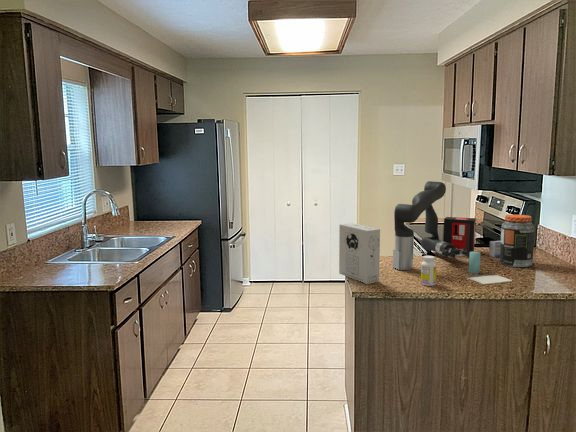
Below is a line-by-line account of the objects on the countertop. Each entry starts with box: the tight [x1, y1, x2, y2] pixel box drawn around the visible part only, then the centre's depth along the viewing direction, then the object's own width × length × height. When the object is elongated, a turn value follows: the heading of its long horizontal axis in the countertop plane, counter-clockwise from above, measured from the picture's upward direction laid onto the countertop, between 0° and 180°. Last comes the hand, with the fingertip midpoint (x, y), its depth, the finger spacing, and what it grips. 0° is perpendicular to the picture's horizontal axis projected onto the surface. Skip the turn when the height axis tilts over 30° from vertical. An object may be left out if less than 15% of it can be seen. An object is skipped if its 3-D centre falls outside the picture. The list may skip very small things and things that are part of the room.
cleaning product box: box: [442, 216, 477, 254], centre depth 277 cm, size 16×9×20 cm, turn 64°
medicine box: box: [488, 240, 501, 258], centre depth 267 cm, size 8×4×9 cm, turn 105°
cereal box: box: [338, 222, 381, 285], centre depth 225 cm, size 22×8×25 cm, turn 30°
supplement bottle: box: [420, 255, 437, 287], centre depth 215 cm, size 7×7×13 cm
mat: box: [466, 273, 513, 285], centre depth 222 cm, size 16×12×1 cm
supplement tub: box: [499, 214, 535, 268], centre depth 247 cm, size 16×16×26 cm
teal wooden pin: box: [468, 251, 481, 274], centre depth 234 cm, size 5×5×10 cm
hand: (462, 255), depth 244 cm, fingers open, 8 cm apart
